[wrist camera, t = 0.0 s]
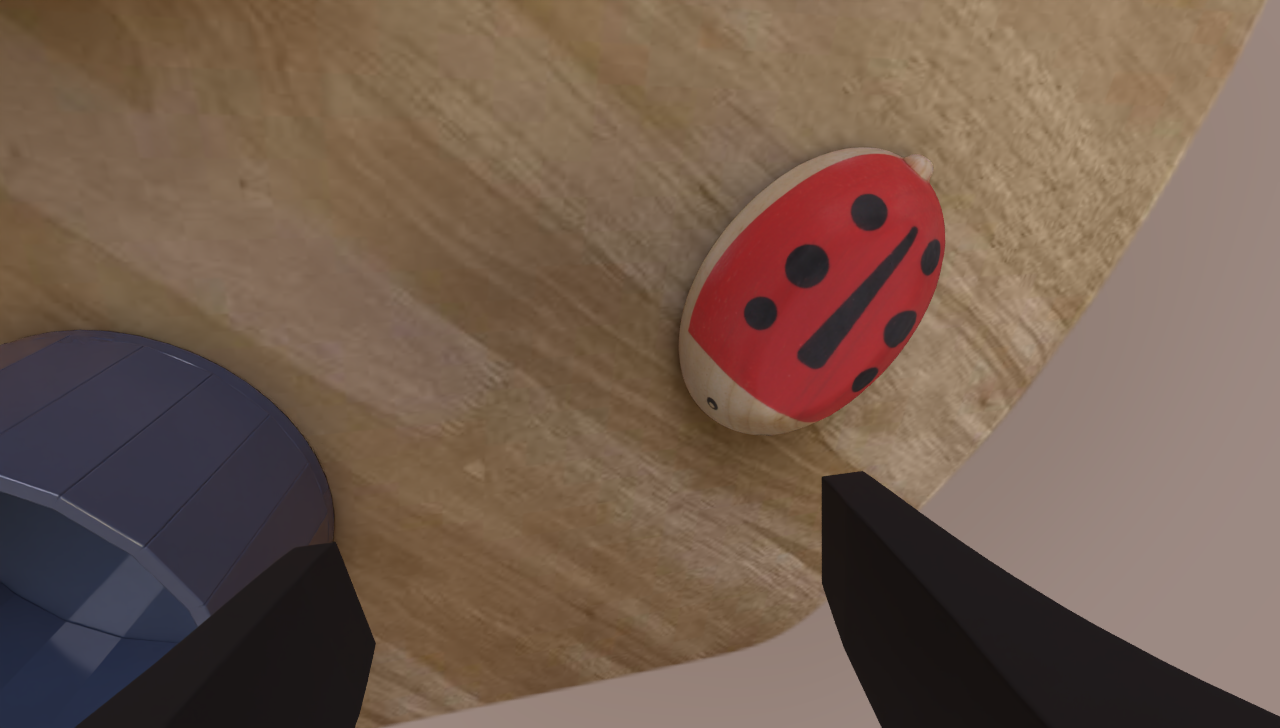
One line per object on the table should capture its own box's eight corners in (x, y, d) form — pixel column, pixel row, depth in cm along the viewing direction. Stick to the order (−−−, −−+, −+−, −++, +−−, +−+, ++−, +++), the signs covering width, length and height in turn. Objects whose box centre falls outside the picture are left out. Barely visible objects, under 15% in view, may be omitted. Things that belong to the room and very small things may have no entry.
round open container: (377, 612, 25) (304, 796, 19) (50, 656, 25) (-135, 856, 19) (260, 303, 20) (103, 413, 14) (-155, 358, 20) (-508, 494, 14)
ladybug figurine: (630, 364, 22) (636, 417, 18) (805, 83, 18) (850, 87, 15) (793, 447, 23) (825, 507, 20) (979, 203, 20) (1053, 229, 17)
